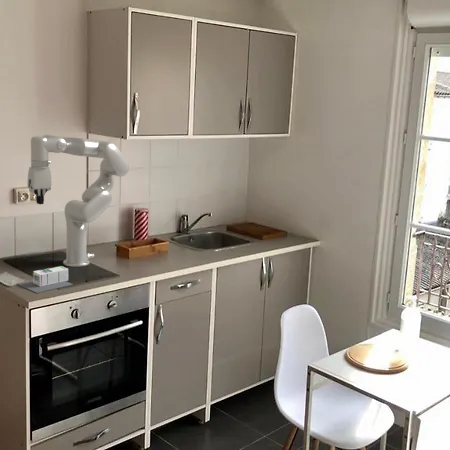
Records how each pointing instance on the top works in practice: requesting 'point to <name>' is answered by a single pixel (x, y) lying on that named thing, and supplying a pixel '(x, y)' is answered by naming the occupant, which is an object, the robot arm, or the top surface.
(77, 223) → the robot arm
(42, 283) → the syrup box
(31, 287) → the mat
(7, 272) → the top surface
